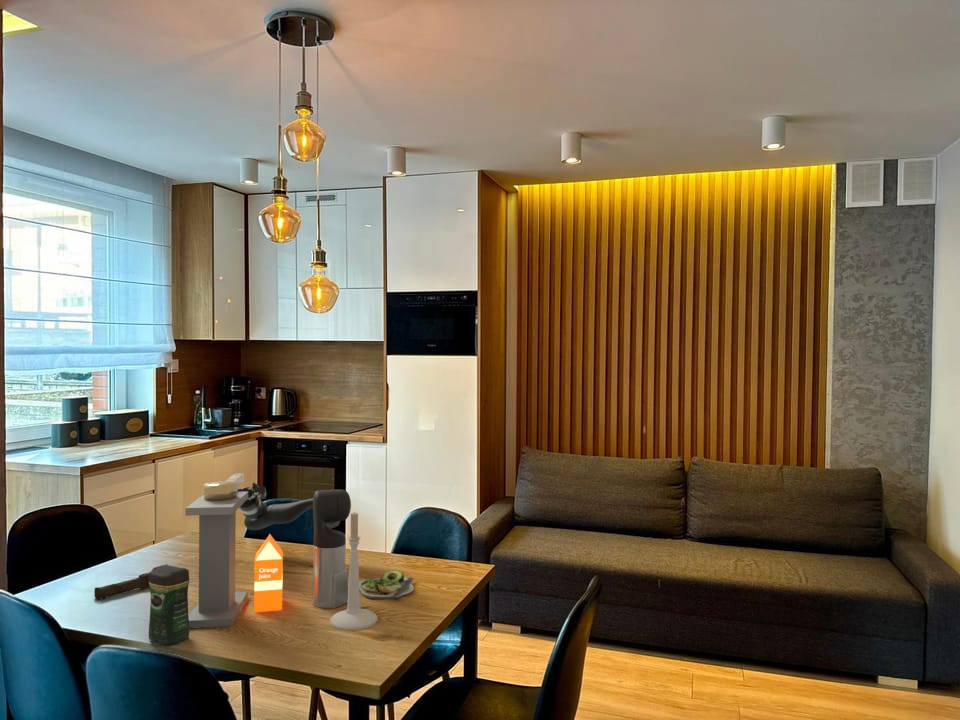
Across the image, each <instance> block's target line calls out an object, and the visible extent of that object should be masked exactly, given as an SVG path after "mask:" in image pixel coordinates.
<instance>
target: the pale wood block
mask: <svg viewBox="0 0 960 720" xmlns="http://www.w3.org/2000/svg"><path fill="white" fill-rule="evenodd" d="M244 475H245V474H244V473H241V472H240V473H239V472H237V473H235V472H234V473H233V474H232V475H231V476H229V477H228V478H226V479H225V480H222V481H210V482H206V483H204V484H203V495H204V500H206V501H225V500H232V499H235V498H237V488H240V486H241V485H242V484H243V483H244V482H245V479H244V478H245V476H244Z"/></svg>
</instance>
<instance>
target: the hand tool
mask: <svg viewBox="0 0 960 720" xmlns="http://www.w3.org/2000/svg"><path fill="white" fill-rule="evenodd" d="M150 572H151V571H149V572H145V573H141V574H139V575H138V577H136V578H132V579H129V580H125V581H120V582H117V583H111V584H108V585H107V584H106V585H103V586H101V587H94V591H93V592H94V599H95V600H96V599H97V600H96V601H101V600H104V599H106V598H108V597H109V598H110V597H113V596H117V595H120V594H123V593H127V592H131V591H134V590H142V589H143V590H146V588H147V589H150V588H149V577H150Z"/></svg>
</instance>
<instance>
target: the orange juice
mask: <svg viewBox="0 0 960 720" xmlns="http://www.w3.org/2000/svg"><path fill="white" fill-rule="evenodd" d="M283 560H284V551H283V550H282V548H281V546H279V543H277V542H276V540H275V539H274V537H273V536H272V535H271V533H269V534H268V536H267V537H266V539H265V540H264V542H263V543H262V545H261V546H260V548H259V549H258V550H257V552H255V557H254V570H253V571H254V607H253V608H254V613H262V612H272V611H273V612H274V611H282V610H283V579H284V578H283V576H284V575H283V574H284V573H283V572H284V571H283Z"/></svg>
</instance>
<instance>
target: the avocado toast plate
mask: <svg viewBox="0 0 960 720" xmlns="http://www.w3.org/2000/svg"><path fill="white" fill-rule="evenodd" d="M413 580H414V578H413V577H411V576H409V577H408V578H407V577H405V576H404V572H403V571H401V570H399V569H392V570H387V571H385V572H384V573H383V574H382V575H381V577H379V578H367V579H363V580H360V581H359V592H360V593H361V594H362V595H363V596H365V597H366V598H368V599H373V600H386V598H389V599H397V597H398V598H401V597H404V596H407V595H408V594H410V593H412V592H413V591H414V590H415V589H414V586H413V584H412V582H413ZM366 592H367V593H366ZM369 592H371V593H379V592H380V593H379V594H381V593H382V594H384V595H382V594H381V595H378V594H377V595H376V594H371V593H369ZM403 595H404V596H403Z"/></svg>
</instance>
